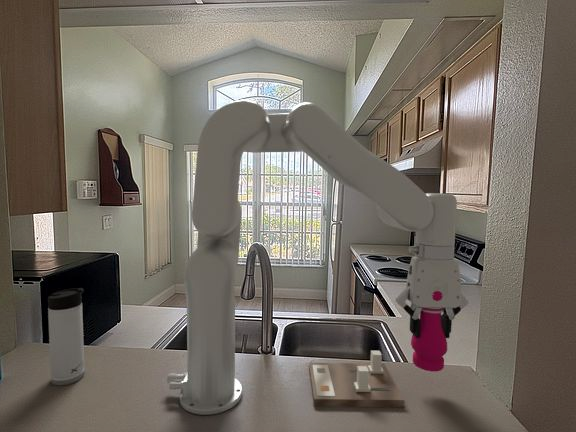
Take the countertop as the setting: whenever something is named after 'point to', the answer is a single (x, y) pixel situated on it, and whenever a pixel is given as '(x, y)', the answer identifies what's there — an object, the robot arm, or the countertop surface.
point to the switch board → (351, 387)
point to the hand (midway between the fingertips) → (429, 334)
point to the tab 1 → (362, 379)
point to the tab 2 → (375, 363)
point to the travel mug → (66, 336)
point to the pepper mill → (430, 339)
